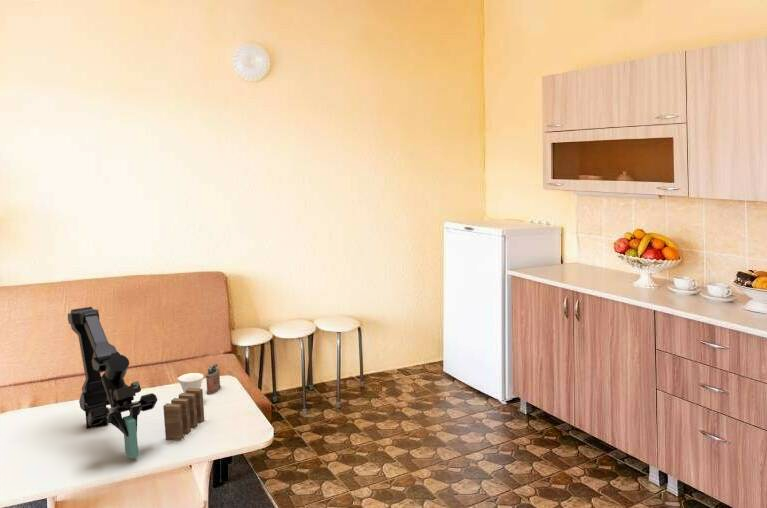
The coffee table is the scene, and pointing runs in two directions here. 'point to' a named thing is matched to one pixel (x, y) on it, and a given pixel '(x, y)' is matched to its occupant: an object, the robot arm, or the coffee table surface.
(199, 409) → the tile
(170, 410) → the tile
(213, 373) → the lighter
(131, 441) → the tile
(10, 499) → the coffee table surface
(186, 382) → the cup
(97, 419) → the robot arm
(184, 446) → the coffee table surface
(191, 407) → the brown wooden plank
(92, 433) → the coffee table surface
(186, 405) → the brown wooden block
